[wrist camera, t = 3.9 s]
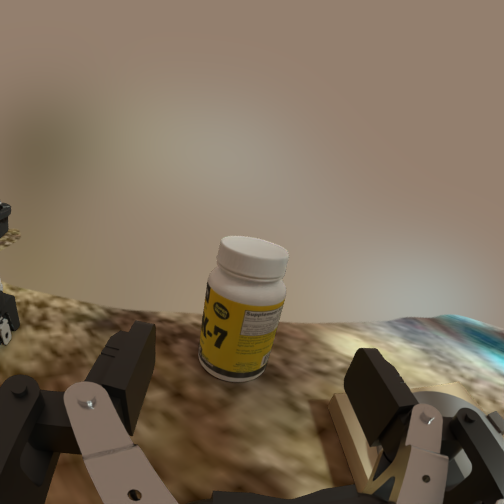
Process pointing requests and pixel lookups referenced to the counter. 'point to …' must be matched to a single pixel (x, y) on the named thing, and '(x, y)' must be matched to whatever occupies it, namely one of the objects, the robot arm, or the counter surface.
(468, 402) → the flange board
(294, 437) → the counter surface
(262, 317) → the supplement bottle
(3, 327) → the push button
